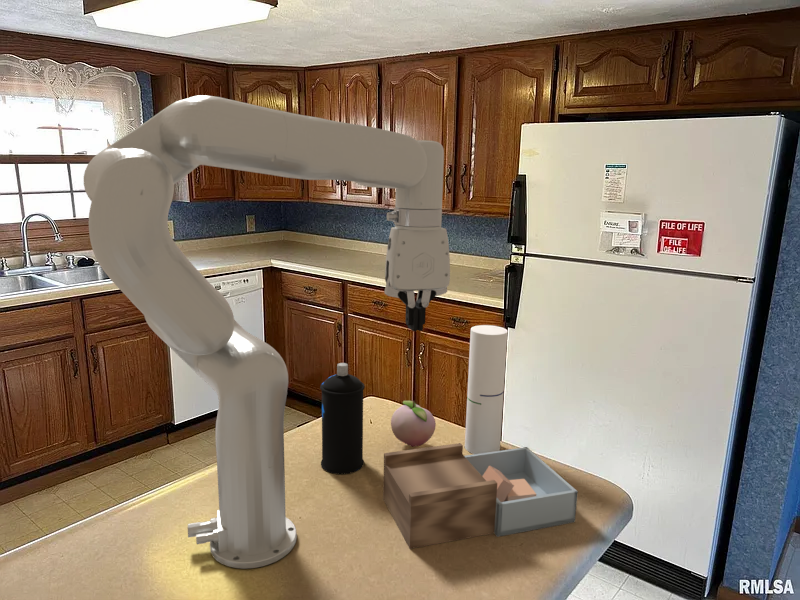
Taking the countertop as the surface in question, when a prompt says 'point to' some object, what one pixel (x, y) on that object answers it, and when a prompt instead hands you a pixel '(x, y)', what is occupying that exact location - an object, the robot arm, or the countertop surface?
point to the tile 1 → (499, 482)
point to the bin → (551, 489)
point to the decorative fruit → (412, 424)
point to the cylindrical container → (485, 388)
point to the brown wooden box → (437, 495)
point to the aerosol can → (342, 422)
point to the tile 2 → (520, 490)
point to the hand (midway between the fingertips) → (415, 328)
